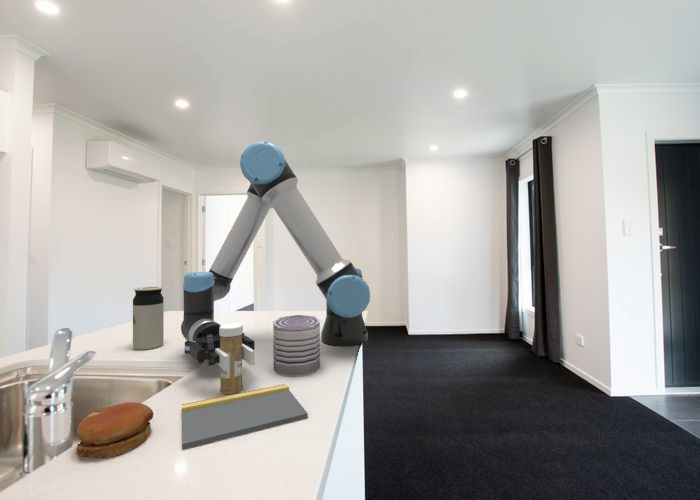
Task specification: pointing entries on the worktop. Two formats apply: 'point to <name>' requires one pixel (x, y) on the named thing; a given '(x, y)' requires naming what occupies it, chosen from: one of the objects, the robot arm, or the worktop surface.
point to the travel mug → (148, 318)
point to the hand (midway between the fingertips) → (240, 360)
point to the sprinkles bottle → (231, 358)
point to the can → (296, 345)
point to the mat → (238, 414)
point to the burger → (114, 430)
